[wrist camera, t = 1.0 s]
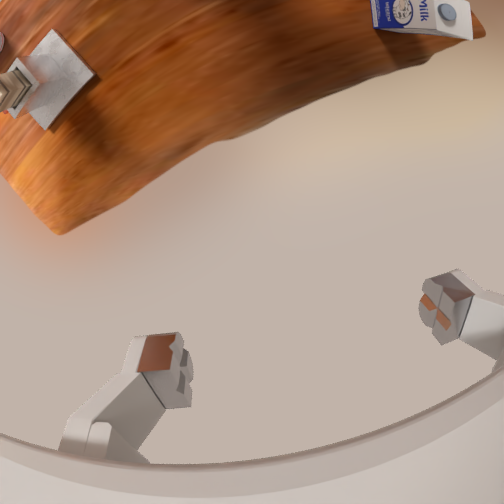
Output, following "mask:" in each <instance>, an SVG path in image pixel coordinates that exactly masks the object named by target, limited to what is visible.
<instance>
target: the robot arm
mask: <svg viewBox="0 0 504 504" xmlns="http://www.w3.org/2000/svg"><path fill="white" fill-rule="evenodd" d="M422 291H423V292H424V295H423V297H422V298H421V300H420V303H419V314H420V317H421V319H422V321H423V323H424V324H425V325H426V326H429V327H431V328H432V334H433V335H434V336H435V338H436V339H437V340H438V341H439V343H440V344H441V345H444V344H445V343H448V342H451V341H453V340H455V339H458V338H459V339H460V340H462V341H464V342H465V343H467V344H469V345H470V346H472V347H474V348H476V349H478V350H479V351H481V352H483V353H485V354H487V355H488V356H490V357H492V358H494V359H495V360H497V361H496V363H495V365H494V367H493V369H492V373H491V374H490V375H488V376H487V377H485V378H483V379H482V380H480V381H479V382H477V383H475V384H474V385H472V386H470V387H469V388H467V389H465V390H463V391H461V392H460V393H458V394H456V395H454V396H452V397H451V398H449V399H447V400H445V401H443V402H441V403H439V404H437V405H435V406H433V407H431V408H429V409H426V410H424V411H422V412H420V413H418V414H415V415H413V416H411V417H408V418H406V419H404V420H401V421H399V422H397V423H394V424H391V425H389V426H386V427H383V428H381V429H378V430H375V431H372V432H369V433H366V434H364V435H360V436H357V437H354V438H351V439H347V440H344V441H341V442H337V443H333V444H330V445H326V446H322V447H318V448H314V449H310V450H305V451H301V452H296V453H291V454H285V455H280V456H275V457H268V458H261V459H254V460H246V461H236V462H225V463H209V464H150V462H149V461H148V460H147V459H146V458H145V457H143V455H141V454H140V453H139V452H138V451H137V450H138V449H139V447H140V446H141V444H142V443H143V441H144V440H145V439H146V437H147V436H148V435H149V433H150V432H151V430H152V429H153V428H154V426H155V425H156V424H157V422H158V421H159V419H160V418H161V416H162V415H163V414H164V412H165V409H174V408H185V407H191V400H192V389H191V387H190V385H189V383H190V382H191V381H192V380H193V365H192V360H191V357H190V354H189V352H188V351H187V350H185V349H184V348H183V345H184V340H183V338H182V336H181V334H180V333H179V332H174V333H165V334H155V335H146V336H135V337H134V338H132V340H131V343H130V346H129V349H128V352H127V355H126V358H125V362H124V364H123V368H122V371H121V373H120V374H116V375H115V376H113V377H112V378H111V379H110V380H109V381H108V382H107V383H106V384H105V385H104V386H103V387H101V389H99V390H98V391H97V392H96V393H95V394H94V395H93V396H92V397H91V398H89V399H88V400H87V401H86V402H85V403H84V404H83V405H82V406H81V407H80V408H79V409H77V410H76V411H75V412H74V413H73V414H72V415H71V416H70V417H69V418H68V421H67V424H66V427H65V430H64V433H63V436H62V439H61V442H60V446H59V449H58V451H57V450H53V449H49V448H46V447H41V446H38V445H35V444H31V443H28V442H25V441H22V440H19V439H16V438H13V437H10V436H7V435H4V434H2V433H0V504H504V295H502V294H499V293H496V292H493V291H490V290H486V291H485V290H483V289H482V288H481V287H480V286H479V285H478V284H477V283H475V282H474V281H473V280H472V279H471V278H470V277H468V276H467V275H466V274H465V273H464V272H462V271H461V270H459V269H455V270H452V271H449V272H447V273H444V274H441V275H438V276H435V277H432V278H429V279H426V280H425V282H424V283H423V287H422Z"/></svg>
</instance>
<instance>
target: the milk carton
mask: <svg viewBox="0 0 504 504" xmlns="http://www.w3.org/2000/svg"><path fill="white" fill-rule="evenodd" d="M370 3H371V11H372V20H373V28H374V29H380V30H386V31H392V32H398V33H413V34H428V35H439V36H448V37H455V38H462V39H467V40H472V41H473V33H472V21H471V12H470V4H469V2H467V1H464V0H370Z"/></svg>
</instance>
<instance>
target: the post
mask: <svg viewBox="0 0 504 504" xmlns="http://www.w3.org/2000/svg"><path fill="white" fill-rule="evenodd" d="M31 86H32V84H31V83H30V82H29V80H28V79H27V78H26V77H25V76H24V75H23V73H22V72H21V71H20V70H16V71H11V72H7V73H3V74H0V112H2V111H4V110H6V109H9V108H12V107H13V106H16V105H18V104H19V103H20V102H21V100H22V99H23V97H24V96H25V94H26V93H27V92H28V90H29V89H30V88H31Z"/></svg>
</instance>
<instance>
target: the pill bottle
mask: <svg viewBox="0 0 504 504" xmlns="http://www.w3.org/2000/svg"><path fill="white" fill-rule="evenodd" d="M3 45H4V36H3V34H2V33H1V32H0V52H1V50H2V48H3Z"/></svg>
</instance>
